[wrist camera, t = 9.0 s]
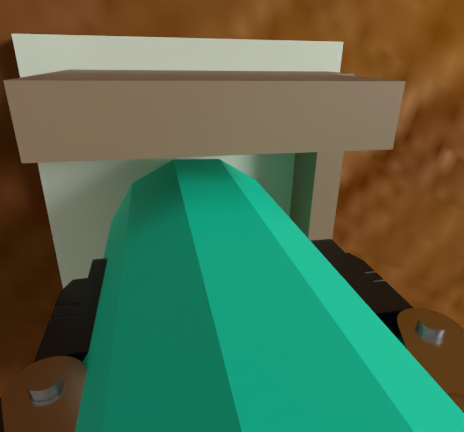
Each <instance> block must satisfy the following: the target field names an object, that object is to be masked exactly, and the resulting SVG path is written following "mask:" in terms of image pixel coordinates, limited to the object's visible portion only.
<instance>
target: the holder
mask: <svg viewBox="0 0 464 432" xmlns="http://www.w3.org/2000/svg"><path fill="white" fill-rule="evenodd" d="M12 39H13V44H14V49H15V54H16V59H17V64H18V69H19V74H20V78H15V79H9V80H3V81H4V86H5V90H6V95H7V99H8V104H9V108H10V113H11V118H12V122H13V127H14V131H15V136H16V140H17V145H18V149H19V154H20V158H21V163H38V168H39V173H40V178H41V183H42V188H43V192H44V197H45V202H46V207H47V212H48V217H49V222H50V227H51V232H52V237H53V242H54V247H55V252H56V257H57V262H58V266H59V271H60V276H61V281H62V286H63V289H64V288H65V287H66V286H67V285H68V284H69V283H70V282H71V281H72V280H73V279H83V278H88V275H89V271H90V268H91V264H92V261H93V259H102V258H103V257H104V252H105V248H106V243H107V239H108V234H109V230H110V225H111V221H112V219H113V217H114V215H115V214H116V212H117V210H118V208H119V206H120V205H121V203H122V201H123V199H124V197H125V195H126V194H127V192H128V190H129V188H130V186H131V184H132V183H133V182H135V181H136V180H138V179H140V178H142V177H143V176H145V175H147V174H149V173H150V172H152V171H154V170H156V169H157V168H159V167H161V166H162V165H164V164H166V163H168V162H169V161H171V160H173V159H220V160H222V161H224V162H226V163H227V164H229V165H231V166H233V167H234V168H236V169H238V170H240V171H241V172H243V173H245V174H246V175H248V176H250V177H252V178H253V179H255V180H256V181H257V182H258V183H259V184H260V185H261V186H262V187H263V188H264V189H265V191H266V192H267V193H268V194H269V195H270V196H271V197H272V198H273V200H274V201H275V202H276V203H277V204H278V205H279V206H280V207H281V209H282V210H283V211H284V212H285V213H286V214H287V215H288V216H289V218H290V219H291V220H292V221H293V222H294V223H295V224H296V225H297V227H298V228H299V229H300V230H301V231H302V232H303V233H304V234H305V236H306V237H307V238H308V239H309V240H321V239H332V235H333V228H334V221H335V213H336V206H337V199H338V191H339V184H340V177H341V170H342V162H343V155H344V151H358V150H385V149H393V144H394V139H395V134H396V129H397V123H398V118H399V113H400V108H401V102H402V97H403V92H404V87H405V81H397V80H387V79H377V78H366V77H356V76H354V75H355V74H352V73H340V65H341V57H342V49H343V42H325V41H285V40H245V39H205V38H165V37H125V36H85V35H45V34H12Z"/></svg>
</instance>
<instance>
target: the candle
mask: <svg viewBox="0 0 464 432" xmlns="http://www.w3.org/2000/svg"><path fill="white" fill-rule="evenodd" d="M103 258H107V264H106V269H105V274H104V279H103V284H102V288H101V293H100V298H99V303H98V308H97V313H96V318H95V323H94V328H93V333H92V338H91V343H90V348H89V352H88V354H87V355H86V357H85V359H84V360H83V362H82V363H83V364H84V365H85V367H86V369H87V373H86V378H85V383H84V388H83V394H82V399H81V404H80V409H79V414H78V419H77V424H76V429H75V432H464V413H463V412H462V411H461V409H460V408H459V407H458V406H457V405H456V404H455V403H454V402H453V400H452V399H451V398H450V397H449V396H448V395H447V394H446V393H445V392H444V390H443V389H442V388H441V387H440V386H439V385H438V384H437V383H436V381H435V380H434V379H433V378H432V377H431V376H430V375H429V374H428V372H427V371H426V370H425V369H424V368H423V367H422V366H421V365H420V363H419V362H418V361H417V360H416V359H415V358H414V357H413V356H412V354H411V353H410V352H409V351H408V350H407V349H406V348H405V347H404V346H403V344H402V343H401V342H400V341H399V340H398V339H397V338H396V337H395V335H394V334H393V333H392V332H391V331H390V330H389V329H388V328H387V326H386V325H385V324H384V323H383V322H382V321H381V320H380V319H379V317H378V316H377V315H376V314H375V313H374V312H373V311H372V310H371V308H370V307H369V306H368V305H367V304H366V303H365V302H364V301H363V299H362V298H361V297H360V296H359V295H358V294H357V293H356V292H355V291H354V289H353V288H352V287H351V286H350V285H349V284H348V283H347V282H346V280H345V279H344V278H343V277H342V276H341V275H340V274H339V273H338V271H337V270H336V269H335V268H334V267H333V266H332V265H331V264H330V262H329V261H328V260H327V259H326V258H325V257H324V256H323V255H322V253H321V252H320V251H319V250H318V249H317V248H316V247H315V246H314V244H313V243H312V242H311V241H310V240H309V239H308V238H307V237H306V236H305V234H304V233H303V232H302V231H301V230H300V229H299V228H298V227H297V225H296V224H295V223H294V222H293V221H292V220H291V219H290V218H289V216H288V215H287V214H286V213H285V212H284V211H283V210H282V209H281V207H280V206H279V205H278V204H277V203H276V202H275V201H274V200H273V198H272V197H271V196H270V195H269V194H268V193H267V192H266V191H265V189H264V188H263V187H262V186H261V185H260V184H259V183H258V182H257V181H256V180H255V179H253V178H252V177H250V176H248V175H246V174H245V173H243V172H241V171H240V170H238V169H236V168H234V167H233V166H231V165H229V164H227V163H226V162H224V161H222V160H220V159H173V160H171V161H169V162H168V163H166V164H164V165H162V166H161V167H159V168H157V169H156V170H154V171H152V172H150V173H149V174H147V175H145V176H143V177H142V178H140V179H138V180H136V181H135V182H133V183H132V184H131V186H130V188H129V190H128V192H127V194H126V195H125V197H124V199H123V201H122V203H121V205H120V206H119V208H118V210H117V212H116V214H115V215H114V217H113V219H112V221H111V225H110V230H109V234H108V239H107V243H106V248H105V252H104V257H103Z"/></svg>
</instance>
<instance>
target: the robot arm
mask: <svg viewBox="0 0 464 432" xmlns="http://www.w3.org/2000/svg"><path fill="white" fill-rule="evenodd" d="M310 241H311V242H312V243H313V244H314V246H315V247H316V248H317V249H318V250H319V251H320V252H321V253H322V255H323V256H324V257H325V258H326V259H327V260H328V261H329V262H330V264H331V265H332V266H333V267H334V268H335V269H336V270H337V271H338V273H339V274H340V275H341V276H342V277H343V278H344V279H345V280H346V282H347V283H348V284H349V285H350V286H351V287H352V288H353V289H354V291H355V292H356V293H357V294H358V295H359V296H360V297H361V298H362V299H363V301H364V302H365V303H366V304H367V305H368V306H369V307H370V308H371V310H372V311H373V312H374V313H375V314H376V315H377V316H378V317H379V319H380V320H381V321H382V322H383V323H384V324H385V325H386V326H387V328H388V329H389V330H390V331H391V332H392V333H393V334H394V335H395V337H396V338H397V339H398V340H399V341H400V342H401V343H402V344H403V346H404V347H405V348H406V349H407V350H408V351H409V352H410V353H411V354H412V356H413V357H414V358H415V359H416V360H417V361H418V362H419V363H420V365H421V366H422V367H423V368H424V369H425V370H426V371H427V372H428V374H429V375H430V376H431V377H432V378H433V379H434V380H435V381H436V383H437V384H438V385H439V386H440V387H441V388H442V389H443V390H444V392H445V393H446V394H447V395H448V396H449V397H450V398H451V399H452V400H453V402H454V403H455V404H456V405H457V406H458V407H459V408H460V409H461V411H462V412H463V413H464V330H463V329H462V327H461V326H460V325H459V324H457V323H456V322H455V321H453V320H452V319H450V318H449V317H447V316H445V315H443V314H441V313H438V312H435V311H432V310H428V309H422V308H413V307H412V306H411V305H410V304H409V303H408V302H407V301H406V300H405V299H404V298H403V297H401V296H400V295H399V294H398V293H397V292H396V291H395V290H394V289H393V288H392V287H391V286H390V285H389V284H388V283H387V282H386V281H383V278H381V277H380V276H379V275H378V274H377V273H375V272H374V270H373V269H372V268H371V267H370V266H369V265H368V264H367V263H366V262H365V261H363V260H361V259H359V258H357V257H355V256H354V255H352V254H350V253H345V252H344V251H343V250H342V249H341V248H340V247H339V246H338V245H337V244H336V243H335V242H334V241H333V240H332V239H321V240H310ZM106 264H107V258H102V259H93V261H92V264H91V268H90V271H89V275H88V278H83V279H73V280H72V281H71V282H70V283H69V284H68V285H67V286H66V287H65V288H64V289H62V290H61V291H60V293H59V296H58V299H57V301H56V304H55V308H54V310H53V312H52V315H51V320H49V323H48V326H47V328H46V331H45V334H44V336H43V339H42V342H41V345H40V347H39V350H38V353H37V355H36V358H35V361H34V363H32V364H31V365H29V366H27V367H25V368H24V369H22V370H21V371H20V372H19V373H17V374H16V375H15V376H14V377H13V378H12V379H11V380H10V381H9V383H8V384H7V386H6V387H5V389H4V391H3V394H2V397H1V398H0V432H75V429H76V424H77V419H78V414H79V409H80V404H81V399H82V394H83V388H84V383H85V378H86V373H87V369H86V367H85V365H84V364H83V363H82V362H83V360H84V359H85V357H86V355H87V354H88V352H89V348H90V343H91V338H92V333H93V328H94V323H95V318H96V313H97V308H98V303H99V298H100V293H101V288H102V284H103V279H104V274H105V269H106Z"/></svg>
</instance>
